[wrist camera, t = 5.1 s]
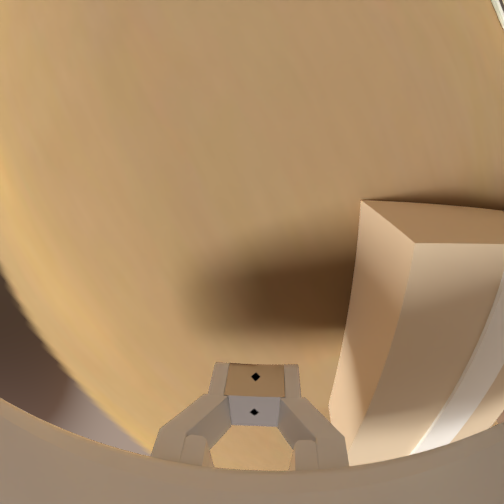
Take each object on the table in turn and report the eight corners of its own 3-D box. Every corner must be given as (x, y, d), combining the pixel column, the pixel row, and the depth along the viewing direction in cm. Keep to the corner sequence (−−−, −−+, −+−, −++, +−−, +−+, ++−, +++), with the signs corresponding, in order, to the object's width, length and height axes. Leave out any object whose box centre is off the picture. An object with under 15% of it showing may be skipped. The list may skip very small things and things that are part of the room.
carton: (358, 198, 11) (418, 246, 6) (518, 211, 10) (583, 247, 5) (327, 401, 15) (338, 474, 11) (459, 380, 15) (488, 433, 10)
